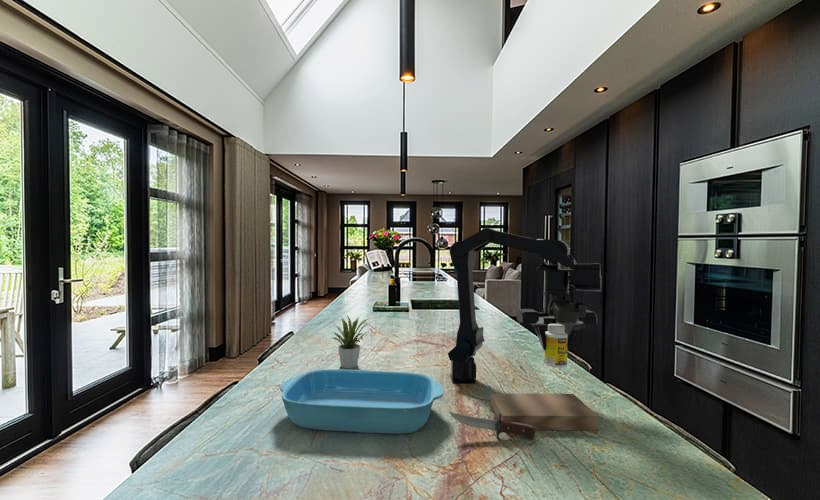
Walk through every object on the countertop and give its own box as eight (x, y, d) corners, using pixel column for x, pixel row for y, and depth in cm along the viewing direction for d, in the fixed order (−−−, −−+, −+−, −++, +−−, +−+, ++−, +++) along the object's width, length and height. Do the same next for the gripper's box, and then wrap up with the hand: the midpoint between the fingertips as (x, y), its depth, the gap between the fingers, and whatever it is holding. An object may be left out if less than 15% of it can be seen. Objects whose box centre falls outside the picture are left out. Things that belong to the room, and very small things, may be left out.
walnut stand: (502, 429, 79) (502, 415, 79) (489, 405, 91) (490, 393, 91) (598, 430, 79) (598, 416, 79) (573, 406, 91) (573, 393, 91)
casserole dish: (442, 398, 96) (442, 370, 96) (444, 444, 74) (445, 407, 74) (300, 393, 98) (300, 366, 98) (260, 436, 76) (260, 401, 76)
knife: (448, 437, 76) (448, 412, 76) (448, 434, 77) (448, 409, 77) (535, 440, 75) (535, 415, 75) (533, 436, 76) (533, 412, 76)
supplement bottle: (558, 369, 93) (558, 328, 93) (539, 363, 98) (539, 324, 98) (572, 366, 96) (572, 325, 96) (553, 360, 101) (553, 322, 101)
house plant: (384, 364, 123) (384, 313, 123) (356, 376, 111) (356, 320, 111) (350, 357, 131) (351, 309, 130) (321, 367, 119) (321, 315, 119)
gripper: (530, 292, 89) (529, 359, 89) (609, 293, 89) (608, 359, 89) (516, 287, 100) (515, 346, 100) (587, 287, 100) (586, 347, 100)
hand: (555, 350), depth 97 cm, fingers closed on supplement bottle, 5 cm apart
